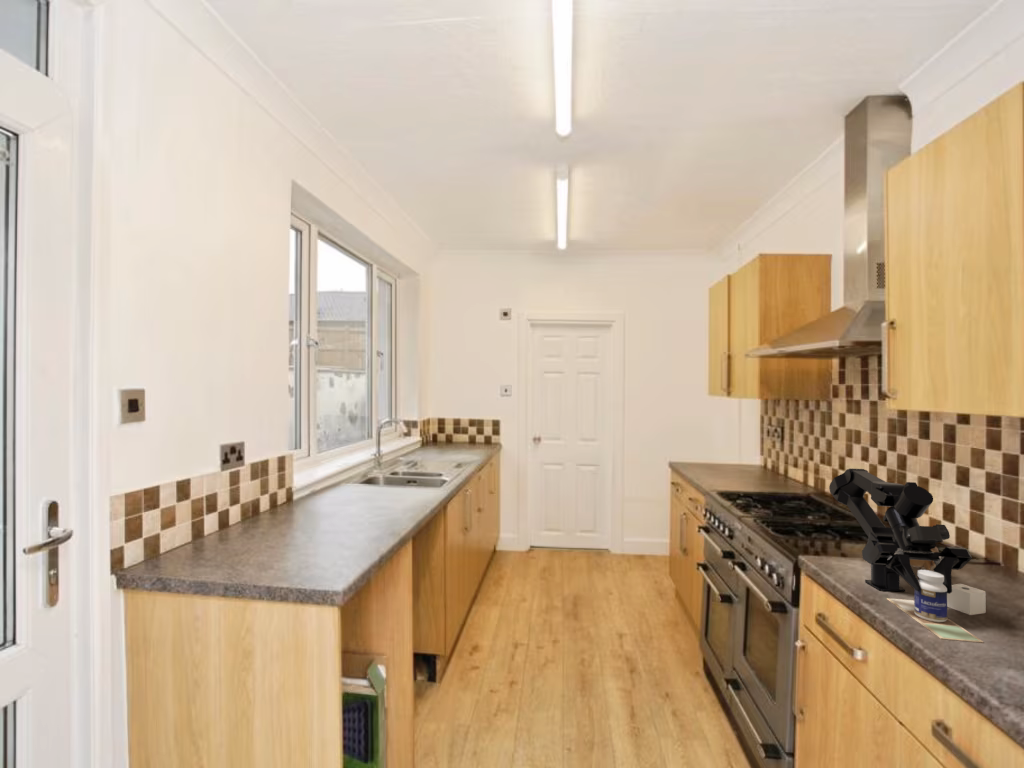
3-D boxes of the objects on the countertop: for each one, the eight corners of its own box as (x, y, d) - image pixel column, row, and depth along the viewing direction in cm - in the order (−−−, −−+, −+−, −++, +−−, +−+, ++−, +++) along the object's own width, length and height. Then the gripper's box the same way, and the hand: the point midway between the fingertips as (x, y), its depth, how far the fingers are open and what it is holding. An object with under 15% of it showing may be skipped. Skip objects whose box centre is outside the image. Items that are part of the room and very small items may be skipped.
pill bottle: (921, 621, 113) (921, 575, 113) (909, 610, 118) (909, 567, 118) (952, 625, 111) (952, 578, 111) (939, 614, 116) (939, 570, 117)
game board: (886, 599, 126) (886, 598, 126) (921, 601, 124) (921, 600, 124) (940, 638, 105) (940, 637, 105) (983, 642, 104) (983, 641, 104)
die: (946, 606, 122) (946, 585, 122) (961, 604, 123) (961, 583, 123) (970, 615, 117) (970, 593, 117) (985, 613, 118) (985, 591, 118)
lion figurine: (928, 572, 146) (928, 540, 146) (945, 579, 140) (945, 546, 141) (879, 573, 144) (879, 541, 145) (895, 579, 139) (895, 546, 139)
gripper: (875, 508, 121) (901, 571, 110) (965, 512, 117) (1002, 578, 106) (859, 533, 128) (882, 594, 117) (944, 537, 125) (976, 601, 114)
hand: (934, 591), depth 113 cm, fingers closed on pill bottle, 6 cm apart
